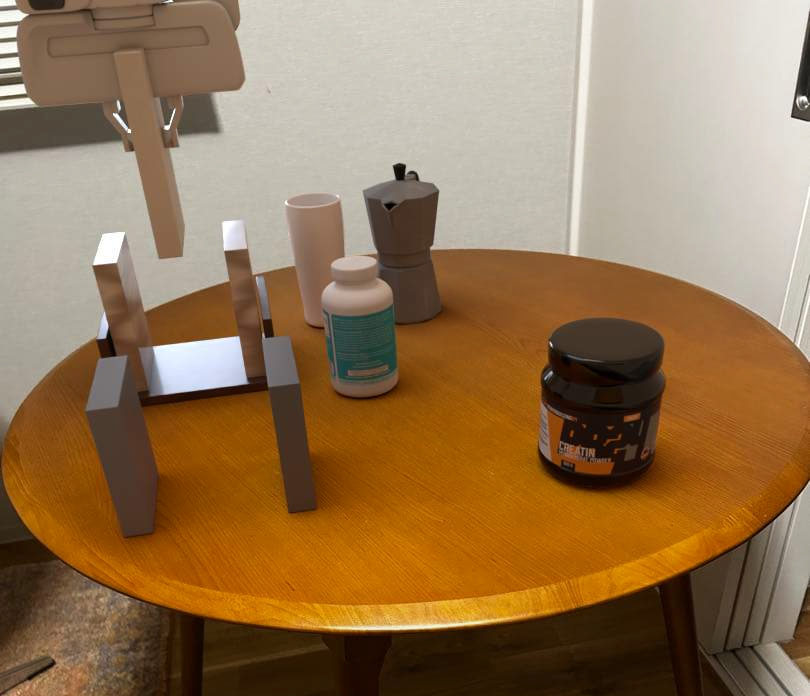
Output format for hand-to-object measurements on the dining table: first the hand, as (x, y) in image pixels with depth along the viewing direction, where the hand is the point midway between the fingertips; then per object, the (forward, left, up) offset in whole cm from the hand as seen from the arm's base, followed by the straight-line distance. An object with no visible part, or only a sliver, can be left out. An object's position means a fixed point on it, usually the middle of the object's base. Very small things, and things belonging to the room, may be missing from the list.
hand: (152, 149), depth 83 cm
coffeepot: (+27, +12, -24) cm, 38 cm away
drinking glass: (+16, +11, -24) cm, 31 cm away
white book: (0, 0, -9) cm, 9 cm away
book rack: (0, 0, -24) cm, 24 cm away
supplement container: (+36, -31, -24) cm, 53 cm away
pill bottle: (+18, -9, -24) cm, 32 cm away
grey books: (+2, -27, -24) cm, 36 cm away
